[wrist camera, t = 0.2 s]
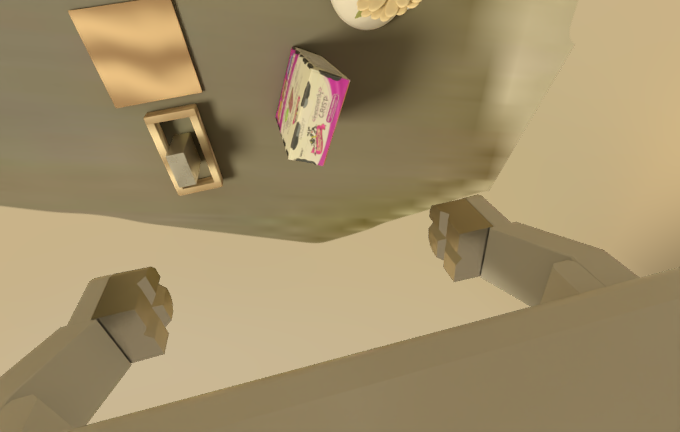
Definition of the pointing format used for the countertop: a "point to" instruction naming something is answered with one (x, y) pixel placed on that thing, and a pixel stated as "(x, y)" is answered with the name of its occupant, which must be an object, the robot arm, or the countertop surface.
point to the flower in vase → (371, 11)
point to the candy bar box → (310, 106)
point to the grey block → (183, 159)
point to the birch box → (192, 112)
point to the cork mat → (138, 50)
